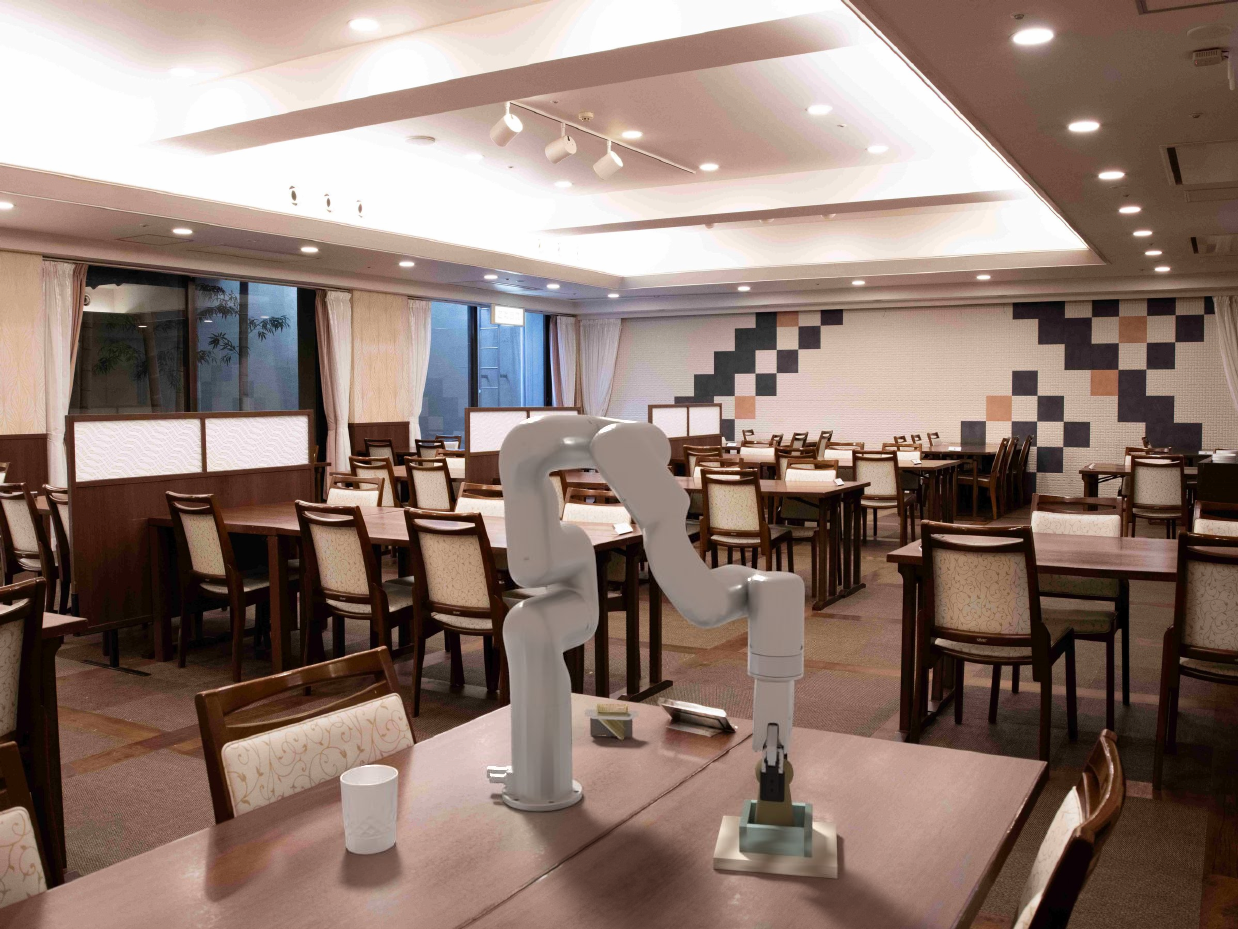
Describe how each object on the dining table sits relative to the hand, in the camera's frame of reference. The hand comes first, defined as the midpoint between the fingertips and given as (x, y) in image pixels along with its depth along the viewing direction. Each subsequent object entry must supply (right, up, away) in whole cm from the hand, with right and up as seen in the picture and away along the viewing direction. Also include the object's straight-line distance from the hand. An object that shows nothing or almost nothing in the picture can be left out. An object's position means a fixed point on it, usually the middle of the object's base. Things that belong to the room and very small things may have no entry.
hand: (774, 787), depth 137 cm
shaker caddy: (0, -9, 0) cm, 9 cm away
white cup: (-56, -10, +4) cm, 57 cm away
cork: (0, -7, +1) cm, 8 cm away
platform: (-23, -7, +49) cm, 54 cm away
